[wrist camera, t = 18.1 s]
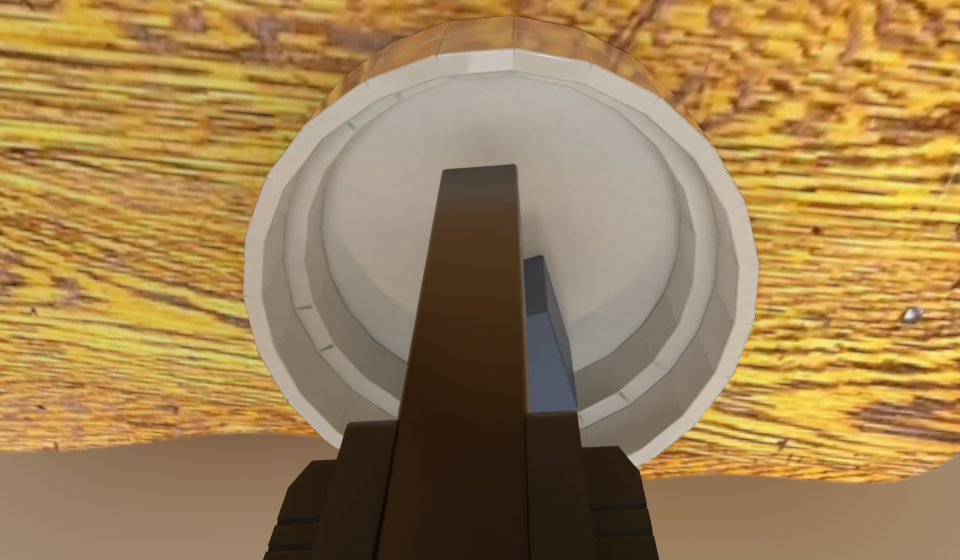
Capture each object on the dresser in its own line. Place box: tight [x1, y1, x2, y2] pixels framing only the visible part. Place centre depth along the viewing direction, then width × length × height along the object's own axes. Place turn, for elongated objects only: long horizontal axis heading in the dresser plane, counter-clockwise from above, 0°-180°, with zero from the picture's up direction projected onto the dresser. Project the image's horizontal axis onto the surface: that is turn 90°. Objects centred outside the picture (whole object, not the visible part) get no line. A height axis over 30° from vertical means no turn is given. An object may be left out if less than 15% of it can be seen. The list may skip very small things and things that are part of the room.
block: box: [523, 255, 578, 412], centre depth 27 cm, size 4×4×4 cm
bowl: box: [243, 16, 759, 467], centre depth 25 cm, size 15×15×6 cm
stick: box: [374, 164, 531, 560], centre depth 13 cm, size 2×2×14 cm
